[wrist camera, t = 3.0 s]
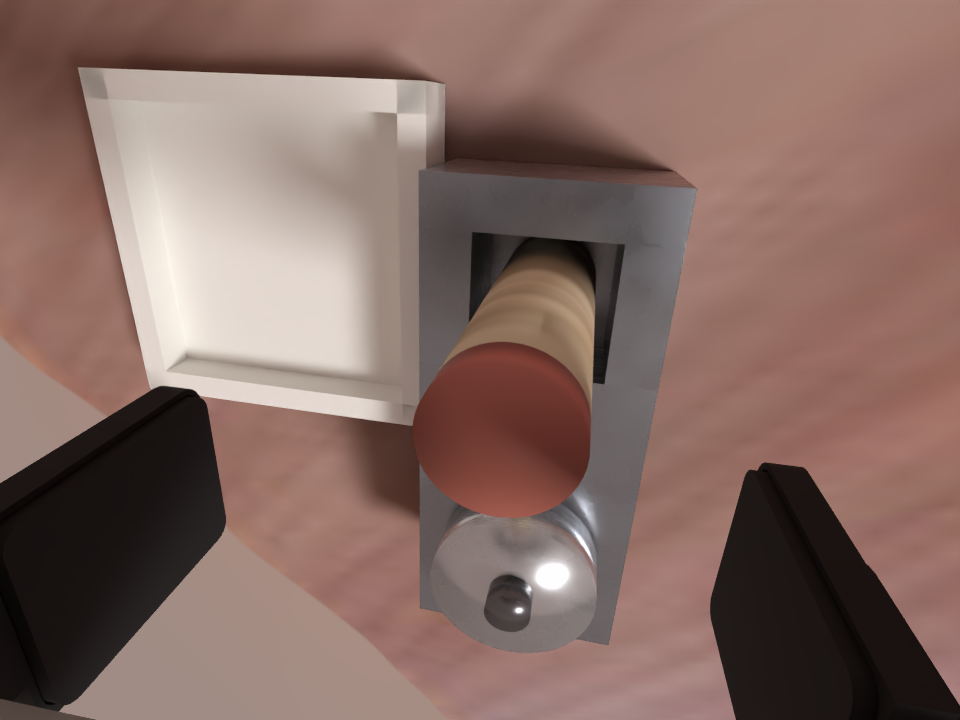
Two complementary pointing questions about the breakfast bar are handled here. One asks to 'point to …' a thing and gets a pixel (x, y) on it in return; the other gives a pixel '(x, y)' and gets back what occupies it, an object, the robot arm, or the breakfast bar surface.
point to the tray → (271, 231)
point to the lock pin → (517, 388)
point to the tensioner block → (615, 389)
